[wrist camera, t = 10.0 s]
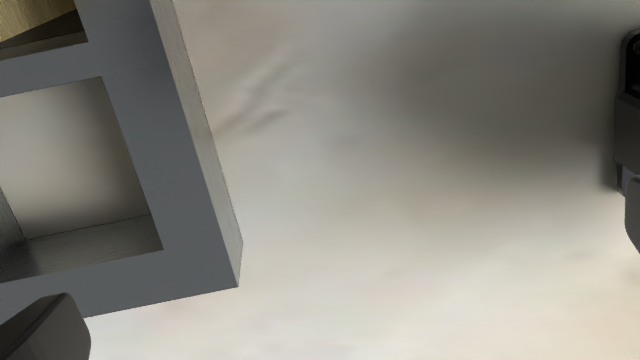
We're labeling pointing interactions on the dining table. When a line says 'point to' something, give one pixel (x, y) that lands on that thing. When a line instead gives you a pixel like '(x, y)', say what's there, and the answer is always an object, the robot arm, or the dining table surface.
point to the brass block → (29, 14)
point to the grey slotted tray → (150, 165)
